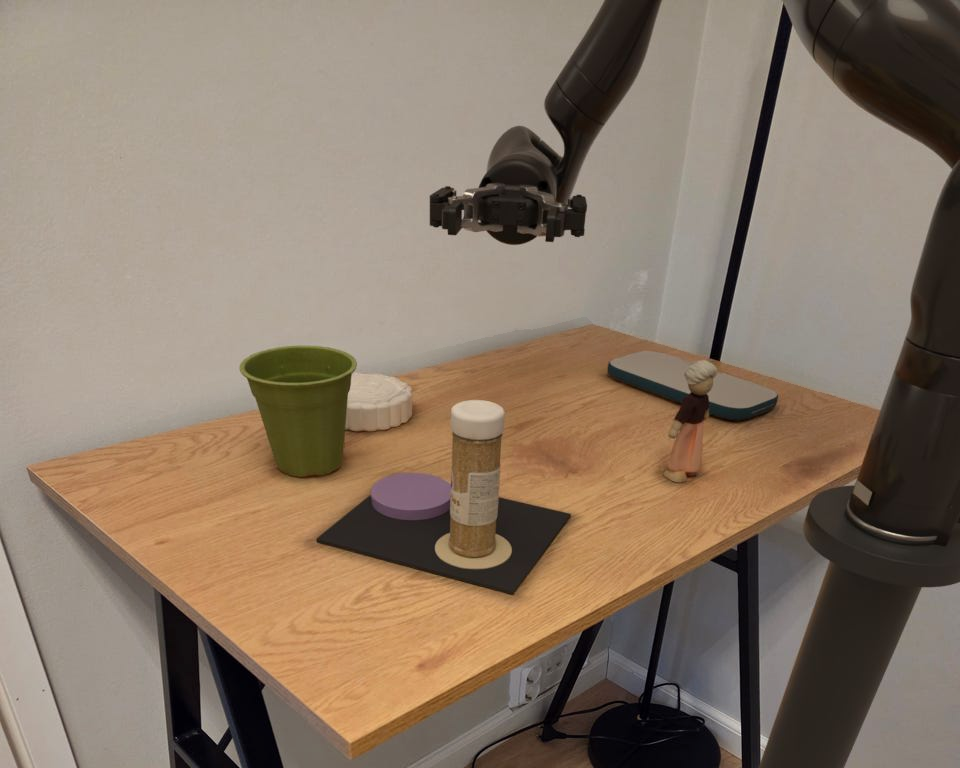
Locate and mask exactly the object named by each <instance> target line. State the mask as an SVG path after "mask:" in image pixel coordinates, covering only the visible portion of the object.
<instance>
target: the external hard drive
mask: <svg viewBox="0 0 960 768" xmlns="http://www.w3.org/2000/svg"><path fill="white" fill-rule="evenodd" d="M694 363H695V362H692V361H690V360H687V359H684V358H681V357H677V356H675V355H672V354H669V353H664V352H662V351H661V352H660V351H655V350H640V351H636V352H632V353H629V354H625V355H622V356H619V357H618V356H617V357H615V358H612V359H610V360H609V361H608V364H607V374H608V375H609V377H611V378H612V379H614V380H616V381H618V382H622V383H625V384H627V385H630V386H632V387H634V388H638V389H640V390H643V391H646V392H648V393H651V394H654V395H657V396H660V397H662V398H665V399H668V400H670V401H673V402H676V403H678V404H681V405H682V402H683V400H684V398H685V397H686V396H687V395H688V394H690V393H691V391H690V390H689V387H688V383H687V381H686V377H685V376H684V373H685V371H687V369H688V367H690V366H691V365H693V364H694ZM707 395H708V397H709V415H711V416H713V417H716V418H721V419H724V420H730V421H745V420H749V419H753V418H754V417H756V416H757V417H758V416H759V415H761V414H765V413H766V412H770V411H771V410H774V409H775V408H776V406H777V403H778V400H779V393H778V392H777V391H775V390H774V389H772V388H770V387H768V386H765V385H763V384H760V383H756V382H754V381H750V380H747V379H744V378H741V377H739V376H736V375H733V374H730V373H726V372H723V371H720V370H717V375H716V376H715V378H713V386H712V389H711V390H710V391H709V392H708V393H707Z"/></svg>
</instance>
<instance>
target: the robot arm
mask: <svg viewBox="0 0 960 768" xmlns="http://www.w3.org/2000/svg"><path fill="white" fill-rule="evenodd" d="M662 2H663V0H603V2H602V5H601V6H600V8H599V10H598V12H597V13H596V15H595V17H594V18H593V20H592V22H591V24H590V25H589V27H588V28H587V30H586V32H585V34H584V35H583V37H582V38H581V39H580V42H579V43H578V45H577V46H576V48H575V49H574V51H573V52H572V54H571V56H570V57H569V59H568V60H567V62H566V63H565V65H564V67H563V68H562V69H561V71H560V73H559V74H558V76H557V77H556V79H555V81H554V82H553V84H552V85H551V87H550V88H549V90H548V92H547V93H546V95H545V98H544V101H543V108H544V112H545V114H546V116H547V118H548V119H549V121H550V123H551V124H552V125H553V128H555V130H556V132H557V133H558V134H559V136H560V138H561V140H562V143H563V155H562V156H561V155H560V154H559V153H558V152H556V150H554V149H553V148H552V147H551V146H550V144H549V145H548V144H547V143H546V142H545V141H544V140H543V139H542V138H541V136H539V135H538V134H536V132H534V131H533V130H531V128H528V127H527V126H524V125H516V126H512V127H510V128H509V129H507V130H505V131H504V133H502V134H501V136H500V137H499V138H498V139H497V140H496V141H495V144H494V145H493V147H492V149H491V151H490V153H489V157H488V160H487V164H486V172H485V173H484V175H483V177H482V178H481V181H480V182H479V184H478V187H474V188H466V189H465V191H464V192H463V195H459V196H458V195H457V190H456V189H455V188H454V187H451V186H450V185H445V186H443V187H441V188H439V189H438V190H436V191H434V192H433V193H431V194H430V195H429V226H431V227H433V228H436V229H437V228H440V227H441V229H442V230H447V235H448V236H457V235H458V234H459V233H460V231H461V230H462V229H464V230H465V231H468V232H472V233H479V232H486V233H487V234H488V235H489V236H490V237H492V238H493V239H494V240H496V241H498V242H500V243H502V244H505V245H509V246H519V245H524V244H527V243H530V242H531V241H533V240H535V239H536V238H537V237H545V239H544V241H545V242H546V243H554V241H555V238H561V237H564V236H565V231H570V236H574V238H580V237H585V233H586V232H585V230H586V229H585V224H586V215H587V210H588V203H587V198H586V196H583V195H582V194H575V195H573V192H574V189H575V186H576V184H577V181H578V177H579V176H580V173H581V170H582V167H583V165H584V163H585V160H586V158H587V156H588V154H589V152H590V150H591V149H592V146H593V144H594V143H595V141H596V139H597V138H598V135H599V134H600V133H601V131H602V129H603V128H604V127H605V125H606V124H607V122H608V121H610V119H611V117H612V115H613V114H614V113H615V111H616V110H617V108H618V107H619V106H620V104H621V103H622V101H624V98H625V97H626V96H627V94H628V93H629V91H630V89H632V86H633V85H634V83H635V81H636V79H637V78H638V76H639V74H640V72H641V70H642V67H643V65H644V62H645V60H646V57H647V53H648V51H649V47H650V43H651V39H652V36H653V33H654V29H655V26H656V21H657V17H658V15H659V12H660V8H661V6H662ZM781 2H782V4H783V6H784V7H785V10H786V12H787V14H788V17H789V20H790V22H791V24H792V27H793V29H794V31H795V33H796V35H797V36H798V39H799V40H800V42H801V44H802V45H803V46H804V48H805V50H806V51H807V52H808V53H809V55H810V56H811V58H812V59H813V61H814V62H815V63H816V64H817V66H818V67H819V68H820V69H821V71H823V72H824V74H825V75H826V76H827V77H828V78H829V79H830V80H831V81H832V82H833V84H834V85H835V86H836V88H837V89H838V90H839V91H840V92H841V93H843V95H844V96H846V97H847V98H848V100H851V101H852V102H853V103H854V104H855V105H857V106H858V107H859V108H861V109H862V110H863V111H865V112H867V114H870V115H871V116H873V117H874V118H876V119H877V120H879V121H881V122H882V123H884V124H886V125H888V126H890V127H892V128H893V129H895V130H897V131H898V132H901V133H902V134H904V135H906V136H907V137H910V138H911V139H913V140H914V141H916V142H918V143H920V144H922V145H923V146H925V147H927V148H928V149H929V150H931V151H932V152H933V153H934V154H936V156H938V157H939V158H940V159H942V161H943V162H945V164H946V165H947V166H948V167H949V168H950V169H951V171H950V173H949V174H948V176H947V177H946V180H945V182H944V184H943V186H942V189H941V191H940V194H939V196H938V199H937V201H936V204H935V207H934V210H933V213H932V216H931V219H930V223H929V226H928V230H927V233H926V236H925V239H924V242H923V243H924V244H923V247H922V250H921V253H920V258H919V261H918V265H917V268H916V272H915V275H914V277H913V281H912V286H911V291H910V297H909V298H910V301H909V302H910V303H909V304H910V313H911V314H910V322H909V325H908V328H907V332H906V335H905V337H904V340H903V343H902V346H901V348H900V351H899V354H898V358H897V360H896V363H895V366H894V369H893V372H892V375H891V378H890V381H889V384H888V386H887V389H886V393H885V395H884V398H883V401H882V404H881V407H880V409H879V410H880V411H879V412H878V416H877V418H876V422H875V425H874V427H873V430H872V433H871V436H870V439H869V443H868V446H867V448H866V451H865V454H864V457H863V459H862V463H861V466H860V468H859V471H858V473H857V474H858V475H857V478H856V481H855V482H854V483H855V484H854V485H855V486H854V485H853V486H854V489H853V490H852V493H851V496H850V499H849V501H848V503H847V506H846V509H845V515H846V518H847V519H848V521H849V522H850V523H851V524H852V525H854V526H855V527H856V528H858V529H859V530H861V531H863V532H865V533H867V534H869V535H871V536H873V537H876V538H879V539H882V540H885V541H889V542H893V543H898V544H904V545H914V546H923V545H933V544H934V545H940V546H947V544H948V541H949V539H950V537H951V534H952V532H953V530H954V528H955V525H956V523H959V524H960V7H958V5H956V3H955V2H954V1H953V0H781ZM571 196H572V197H571Z"/></svg>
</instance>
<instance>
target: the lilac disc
mask: <svg viewBox="0 0 960 768" xmlns="http://www.w3.org/2000/svg"><path fill="white" fill-rule="evenodd" d="M370 495H371V503H372V506H373V507H374V509H375V510H376V511H378V512H379V513H381V514H383V515H385V516H388V517H391V518H395V519H400V520H425V519H431V518H434V517H437V516H440V515H442V514H444V513H446V512H447V511H448V510H449V509H450V498H451V483H450V482H449V481H447V480H446V479H445V478H442V477H440V476H437V475H433V474H429V473H422V472H400V473H399V472H398V473H395V474H390V475H387V476H383V477H382V478H380V479H378V480H377V481H375V482H374V483H373V484H372V486H371V488H370Z"/></svg>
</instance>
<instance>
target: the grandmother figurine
mask: <svg viewBox="0 0 960 768" xmlns="http://www.w3.org/2000/svg"><path fill="white" fill-rule="evenodd" d="M693 363H694V364H693V365H691V366H690V367H688V369H687V371H685V373H684V376H685V377H686V381H687V383H688V387H689V390H690V391H691V393H690V394H688V395H687V396H686V397H685V398H684V400H683V402H682V404H681V405H680V407H679V409H678V411H677V413H676V415H675V416H674V419H673V422H672V424H671V428H670V429H669V431H668V432H667V436H668V438H670V439H674V442H673V445H672V448H671V451H670V456H669V459H668V464H667V468H668V469H666V470H665V471H664V472H663V476H664V477H665V478H666V479H668V480H670V481H671V482H674V483H678V484H679V483H685V482H686V481H687V480H688V477H693V476H695V475H696V474H697V473H698V472H700V471H701V469H702V464H703V463H702V462H703V450H704V427H705V426H704V421H705V420H708V419H709V417H710V414H709V397H708V395H707V393H708V392H709V391H710V390H711V389H712V386H713V378H715V376H716V375H717V371H718V367H717V366H716V365H715V364H714V363H712V362H710V361H707V360H704V359H701V360H698V361H696V362H693Z"/></svg>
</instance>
